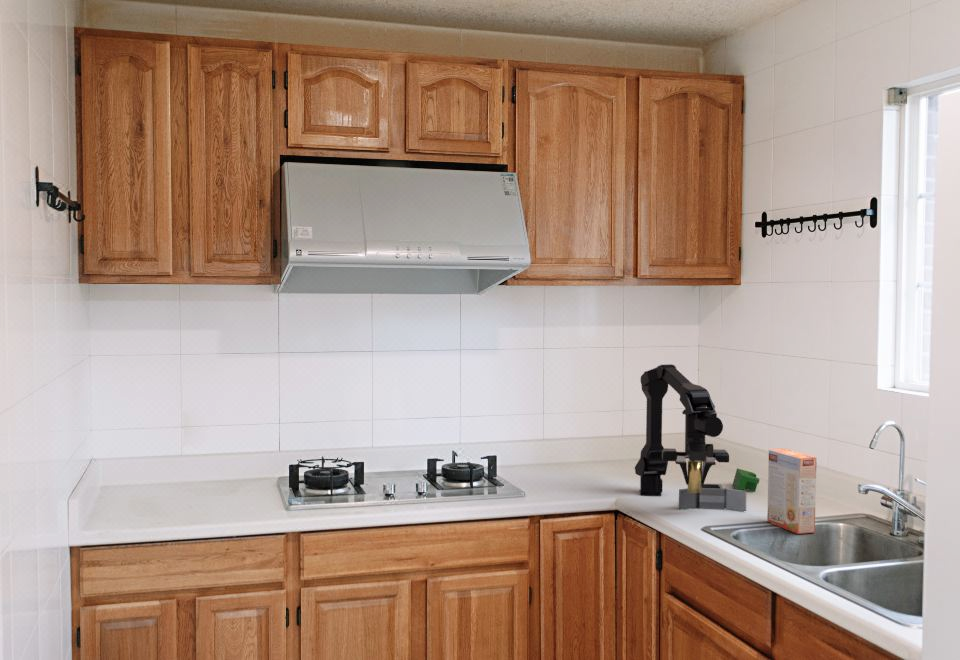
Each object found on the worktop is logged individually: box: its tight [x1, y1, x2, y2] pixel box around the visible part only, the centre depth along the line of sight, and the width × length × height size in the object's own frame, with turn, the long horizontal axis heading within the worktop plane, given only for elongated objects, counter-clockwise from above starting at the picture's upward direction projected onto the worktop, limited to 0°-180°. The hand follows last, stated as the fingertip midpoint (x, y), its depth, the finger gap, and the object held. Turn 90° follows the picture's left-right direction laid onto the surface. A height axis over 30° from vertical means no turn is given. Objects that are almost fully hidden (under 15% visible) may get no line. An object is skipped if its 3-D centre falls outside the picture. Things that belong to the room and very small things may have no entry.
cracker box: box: [766, 448, 817, 535], centre depth 248 cm, size 14×6×21 cm, turn 17°
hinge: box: [678, 483, 748, 512], centre depth 271 cm, size 20×10×6 cm, turn 83°
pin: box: [687, 459, 703, 493], centre depth 262 cm, size 4×4×9 cm
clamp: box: [732, 468, 760, 492], centre depth 294 cm, size 12×6×9 cm, turn 165°
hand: (694, 484), depth 262 cm, fingers closed on pin, 4 cm apart
